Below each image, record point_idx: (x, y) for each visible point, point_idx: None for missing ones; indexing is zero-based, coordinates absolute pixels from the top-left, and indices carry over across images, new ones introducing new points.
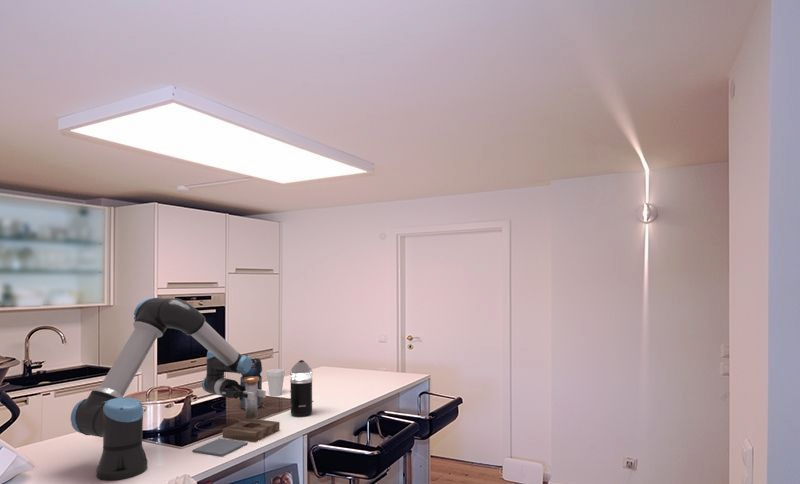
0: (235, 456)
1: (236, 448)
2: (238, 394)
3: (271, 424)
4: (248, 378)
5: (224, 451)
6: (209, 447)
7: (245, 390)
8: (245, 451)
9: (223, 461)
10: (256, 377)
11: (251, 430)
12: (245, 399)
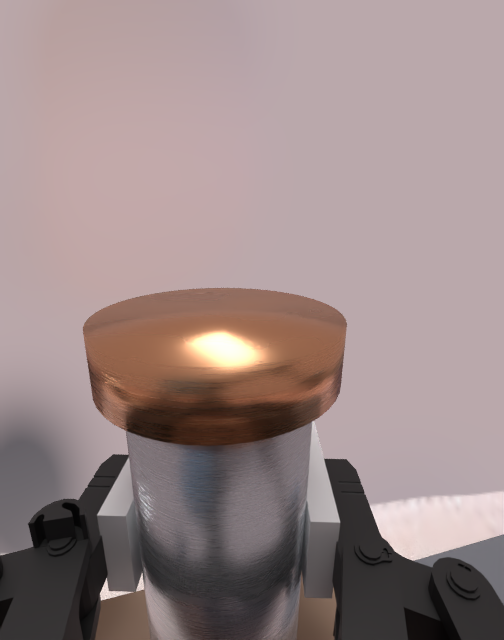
0: (445, 505)
1: (431, 559)
2: (418, 573)
3: (132, 609)
4: (288, 311)
5: (498, 558)
6: None
7: (302, 512)
8: (394, 517)
9: (497, 498)
10: (167, 301)
11: (303, 611)
12: (297, 604)
